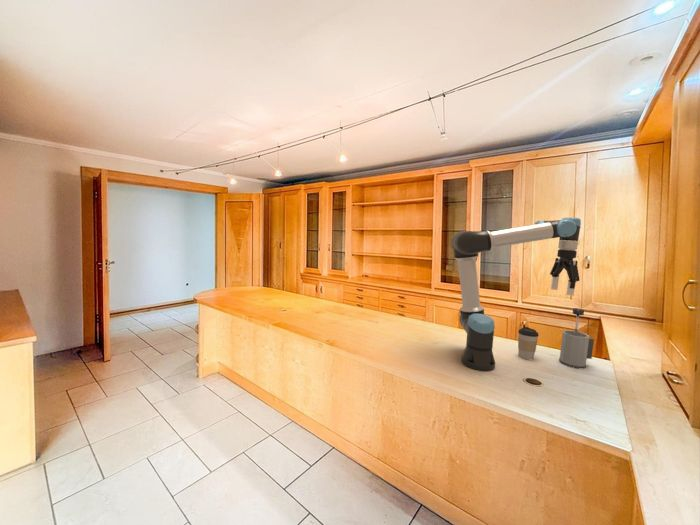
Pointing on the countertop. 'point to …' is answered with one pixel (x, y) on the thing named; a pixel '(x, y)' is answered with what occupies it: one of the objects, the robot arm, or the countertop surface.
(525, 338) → the coffee cup
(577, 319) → the plunger
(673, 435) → the countertop surface
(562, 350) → the press beaker
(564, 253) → the robot arm
